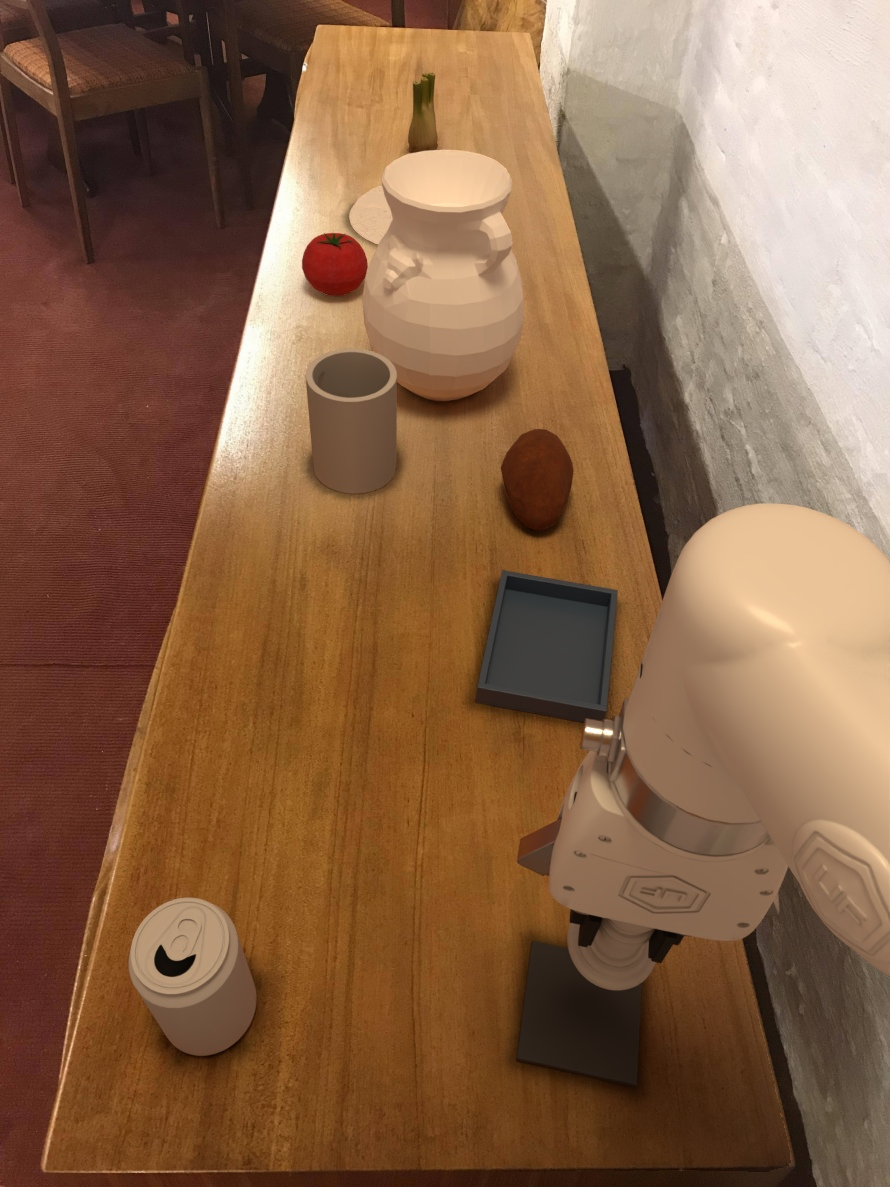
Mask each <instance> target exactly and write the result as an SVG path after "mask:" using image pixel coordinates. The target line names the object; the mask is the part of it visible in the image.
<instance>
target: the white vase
mask: <svg viewBox="0 0 890 1187" xmlns="http://www.w3.org/2000/svg"><path fill="white" fill-rule="evenodd" d="M380 181H381V185H382V187H383V191H384V195H385V198H386V200H387V203H388V205H389V207H390V210H391V214H392V218H393V219H392V221H391V224H390V226H389V228H388V230H387V232H386V233H385V235H384V236H383V238H382V239H381V241H380V242H379V244H377V247H376V248H375V251H374V253H373V255H372V258H371V260H370V263H369V265H368V269H367V273H366V276H365V279H364V284H363V293H362V298H361V299H362V300H361V304H362V313H363V325H364V328H365V331H366V335H367V339H368V343H369V345H370V348H371V349H372V351H373V352H376V353H378V354H380V355H382V356H384V357H386V358H387V359H388V360H390V362H391V363H392V364H393V366H394V367H395V369H396V373H397V384H399V385H400V386H401V387H403V388H405V389H407V391H410V392H411V393H413V394H415V395H417V396H419V397H421V398H423V399H426V400H430V401H435V402H449V401H457V400H461V399H463V398H466V397H469V396H471V395H474V394H475V393H476V394H477V392H480V391H482V390H484V389H485V388H487V387H488V386H489V385H490V384H492V382H493V381H495V380H496V379H497V378H498V377H499V376H500V375H502V374H503V373H504V372H505V371H506V370H507V369H508V367H509V365H510V363H511V361H512V359H513V357H514V355H515V352H516V351H517V349H518V347H519V344H520V342H521V339H522V333H523V327H524V323H525V310H524V308H525V305H524V304H525V303H524V301H525V300H524V290H523V280H522V275H521V272H520V269H519V264H518V260H517V257H516V256H515V254H514V253H513V250H512V249H513V246H514V242H513V235H512V231H511V228H510V227H509V225H508V223H507V221H506V219H505V218H504V216H503V213H504V211H505V209H506V207H507V205H508V201H509V199H510V195H511V193H512V186H513V179H512V177H511V174H510V173H509V170H508V169H507V168H506V166H504V165H503V164H501V163H500V162H498V160H497V159H494V158H492V157H489V156H487V155H485V154H483V153H478V152H473V151H468V150H461V149H460V150H459V149H436V150H431V151H421V152H416V153H413V152H410V153H407V154H404V155H402V156H400V157H398V158H396V159H394V160H393V161H391V162H390V163H389V164H388V165H387V166H386V167H385V168H384V169H383V172H382V176H381V180H380Z"/></svg>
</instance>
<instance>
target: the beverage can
mask: <svg viewBox="0 0 890 1187" xmlns="http://www.w3.org/2000/svg"><path fill="white" fill-rule="evenodd" d="M244 952H245V951H244V950H243V946H242V943H241V940H240V937H239V935H238V932H237V929H236V926H235V923H234V922H233V920H232V919H231V918H230V916H229V915H228V914H227V912H226V911H224V910H223V909H222V908H220V907H219V906H218V905H216V904H214V903H211V902H209V901H207V900H205V899H201V898H199V897H198V898H197V897H180V898H175V899H171V900H169V901H166V902H164V903H162V904H160V905H159V906H157V907H156V908H155V909H152V911H151V912H149V914H148V915H146V917H145V918H144V919H143V920H142V921H141V922H140V924H139V926H137V928H136V931H135V933H134V935H133V938H132V941H131V946H130V950H129V954H128V972H129V976H130V980H131V982H132V985H133V987H134V988H135V990H136V991H137V993H138V995H139V996H140V997H141V999H142V1001H143V1002H144V1004H145V1006H146V1007H147V1009H148V1011H150V1013H151V1015H152V1016H153V1018H154V1020H155V1021H156V1022H157V1025H158V1026H159V1027H160V1029H161V1031H162V1032H163V1034H164V1035H165V1037H166V1038H167V1039H168V1041H169V1042H170V1043H171V1044H172V1045H173V1046H174V1047H175V1048H176V1049H178V1050H179V1051H181V1052H182V1053H185V1054H187V1055H192V1056H197V1057H202V1056H203V1057H204V1056H205V1057H206V1056H212V1055H216V1054H218V1053H220V1052H223V1051H225V1050H227V1049H229V1048H230V1047H231V1046H233V1045H234V1044H235V1043H237V1042H238V1041H239V1040H240V1039H241V1038H242V1037H243V1036H244V1034H245V1033H246V1032H247V1030H248V1028H249V1027H250V1025H251V1024H252V1021H253V1019H254V1016H255V1013H256V1008H257V989H256V984H255V982H254V978H253V976H252V973H251V969H250V967H249V963H248V960H247V959H246V955H245V953H244Z"/></svg>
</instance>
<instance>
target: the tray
mask: <svg viewBox="0 0 890 1187" xmlns="http://www.w3.org/2000/svg"><path fill="white" fill-rule="evenodd" d="M496 592H497V593H496V597H495V602H494V607H493V612H492V615H491V620H490V626H489V630H488V635H487V640H486V644H485V649H484V653H483V659H482V662H481V667H480V672H479V676H478V681H477V687H476V694H475V703H476V704H483V705H488V706H493V707H498V708H505V709H509V710H514V711H521V712H525V713H529V714H530V713H531V714H536V715H541V716H546V717H547V716H548V717H552V718H557V719H562V720H568V721H574V722H578V723H583V724H584V721H585V718H589V719H594V720H599V721H602V720H603V718H605V719H606V715H607V712H608V703H609V690H610V680H611V669H612V660H613V648H614V637H615V625H616V616H617V615H616V614H617V605H618V595H619V594H618V593H619V590H618V589H614V588H608V587H603V586H596V585H592V584H591V585H590V584H585V583H580V582H573V581H569V580H562V579H556V578H550V577H545V576H539V575H533V574H527V573H522V572H516V571H509V570H504V569H502V570H501V574H500V578H499V583H498V588H497V591H496Z"/></svg>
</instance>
